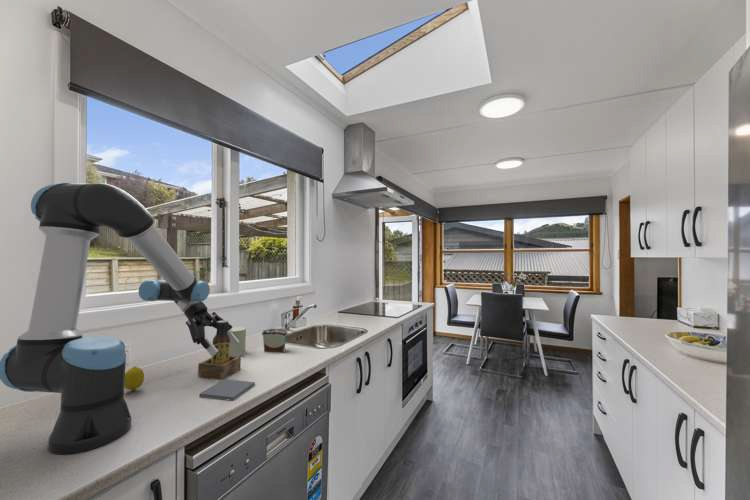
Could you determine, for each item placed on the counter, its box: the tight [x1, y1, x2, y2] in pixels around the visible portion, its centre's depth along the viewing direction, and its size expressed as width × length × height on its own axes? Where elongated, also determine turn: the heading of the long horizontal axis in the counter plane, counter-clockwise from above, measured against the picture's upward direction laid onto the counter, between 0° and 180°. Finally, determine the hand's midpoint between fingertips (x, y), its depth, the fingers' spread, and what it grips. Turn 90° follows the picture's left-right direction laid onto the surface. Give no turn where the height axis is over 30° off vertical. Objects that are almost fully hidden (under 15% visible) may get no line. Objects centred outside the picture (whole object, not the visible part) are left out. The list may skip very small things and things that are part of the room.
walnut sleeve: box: [197, 356, 242, 380], centre depth 118 cm, size 10×10×5 cm
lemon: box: [124, 366, 145, 392], centre depth 101 cm, size 6×6×8 cm
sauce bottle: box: [210, 319, 230, 364], centre depth 118 cm, size 6×6×20 cm
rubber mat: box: [198, 378, 256, 401], centre depth 103 cm, size 12×12×1 cm
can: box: [229, 326, 247, 357], centre depth 141 cm, size 9×9×12 cm
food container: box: [261, 328, 288, 354], centre depth 147 cm, size 12×6×10 cm, turn 84°
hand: (226, 348), depth 118 cm, fingers open, 12 cm apart
